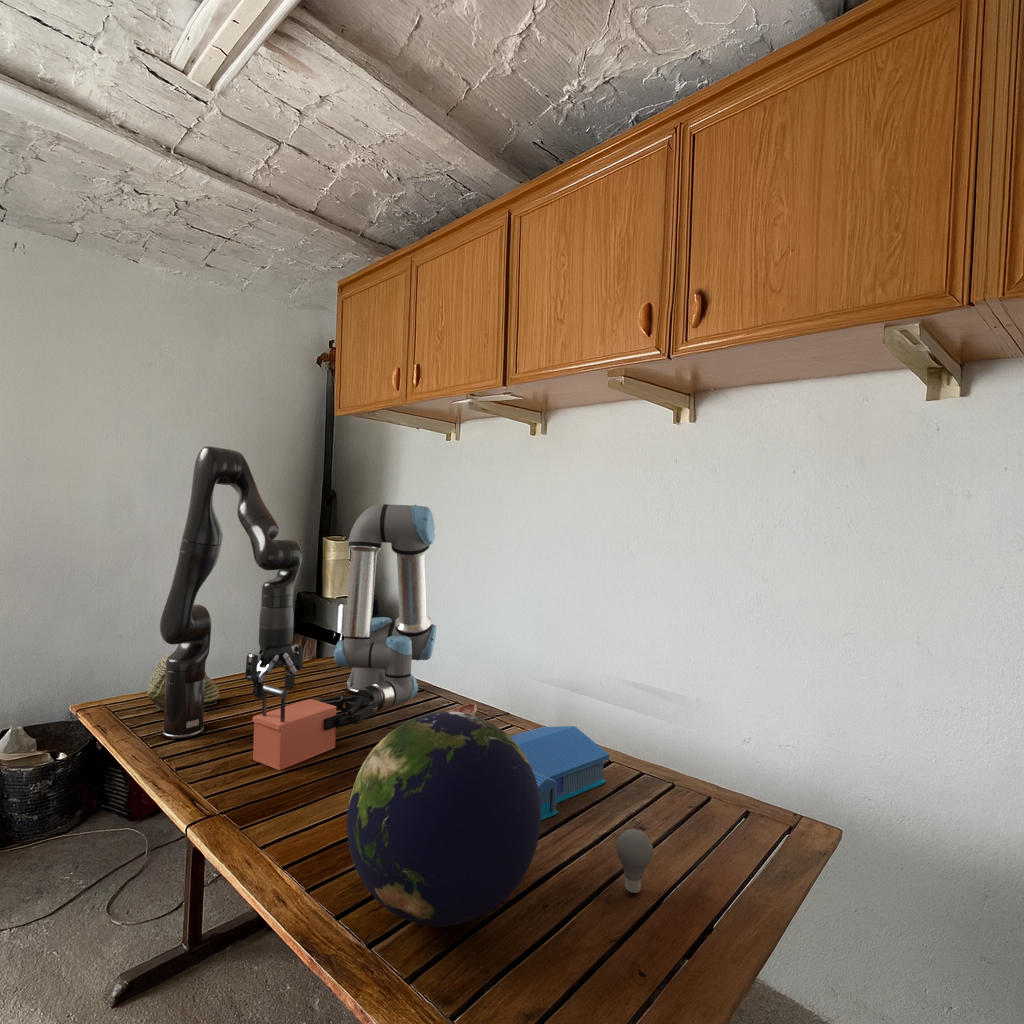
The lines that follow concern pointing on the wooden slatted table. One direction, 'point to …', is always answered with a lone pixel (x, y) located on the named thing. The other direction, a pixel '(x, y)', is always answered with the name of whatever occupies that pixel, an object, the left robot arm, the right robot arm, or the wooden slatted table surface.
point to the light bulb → (634, 857)
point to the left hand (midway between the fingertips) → (274, 693)
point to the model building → (561, 763)
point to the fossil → (158, 687)
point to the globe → (444, 819)
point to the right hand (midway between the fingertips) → (310, 720)
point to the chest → (292, 742)
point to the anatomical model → (465, 709)
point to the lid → (290, 710)
